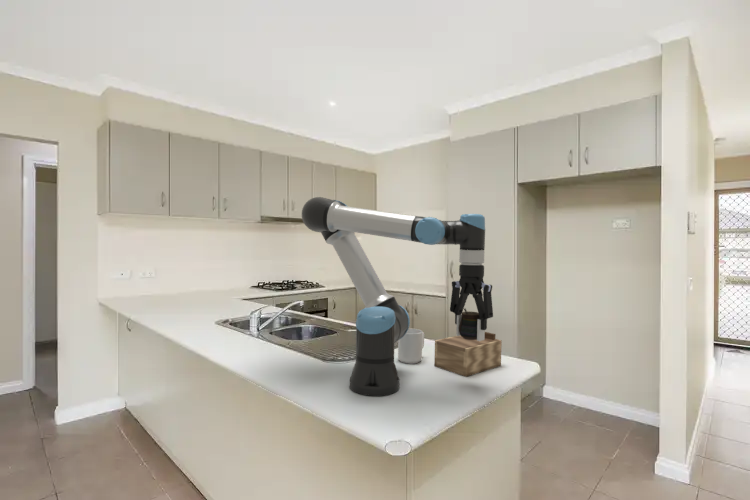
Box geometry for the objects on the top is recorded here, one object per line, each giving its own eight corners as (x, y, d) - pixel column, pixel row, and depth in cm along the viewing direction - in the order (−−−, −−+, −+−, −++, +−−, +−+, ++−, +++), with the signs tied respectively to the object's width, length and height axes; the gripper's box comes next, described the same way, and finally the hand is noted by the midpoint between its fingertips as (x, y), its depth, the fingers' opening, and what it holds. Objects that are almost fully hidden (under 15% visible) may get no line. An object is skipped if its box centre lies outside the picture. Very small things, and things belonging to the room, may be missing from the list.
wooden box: (466, 376, 131) (466, 349, 130) (434, 366, 141) (434, 340, 141) (501, 365, 143) (501, 340, 143) (469, 356, 154) (469, 333, 154)
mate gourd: (485, 337, 125) (486, 306, 124) (478, 343, 118) (478, 309, 118) (463, 334, 128) (464, 303, 128) (455, 339, 122) (455, 307, 122)
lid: (464, 351, 131) (464, 342, 131) (436, 344, 140) (437, 335, 140) (499, 343, 144) (499, 334, 144) (471, 336, 153) (472, 328, 153)
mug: (410, 366, 141) (411, 334, 141) (392, 360, 148) (393, 330, 147) (431, 359, 149) (432, 330, 149) (414, 354, 156) (414, 326, 156)
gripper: (507, 265, 117) (505, 342, 118) (454, 262, 133) (452, 330, 133) (492, 266, 113) (490, 346, 113) (439, 262, 128) (437, 333, 129)
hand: (470, 337), depth 123 cm, fingers closed on mate gourd, 7 cm apart
